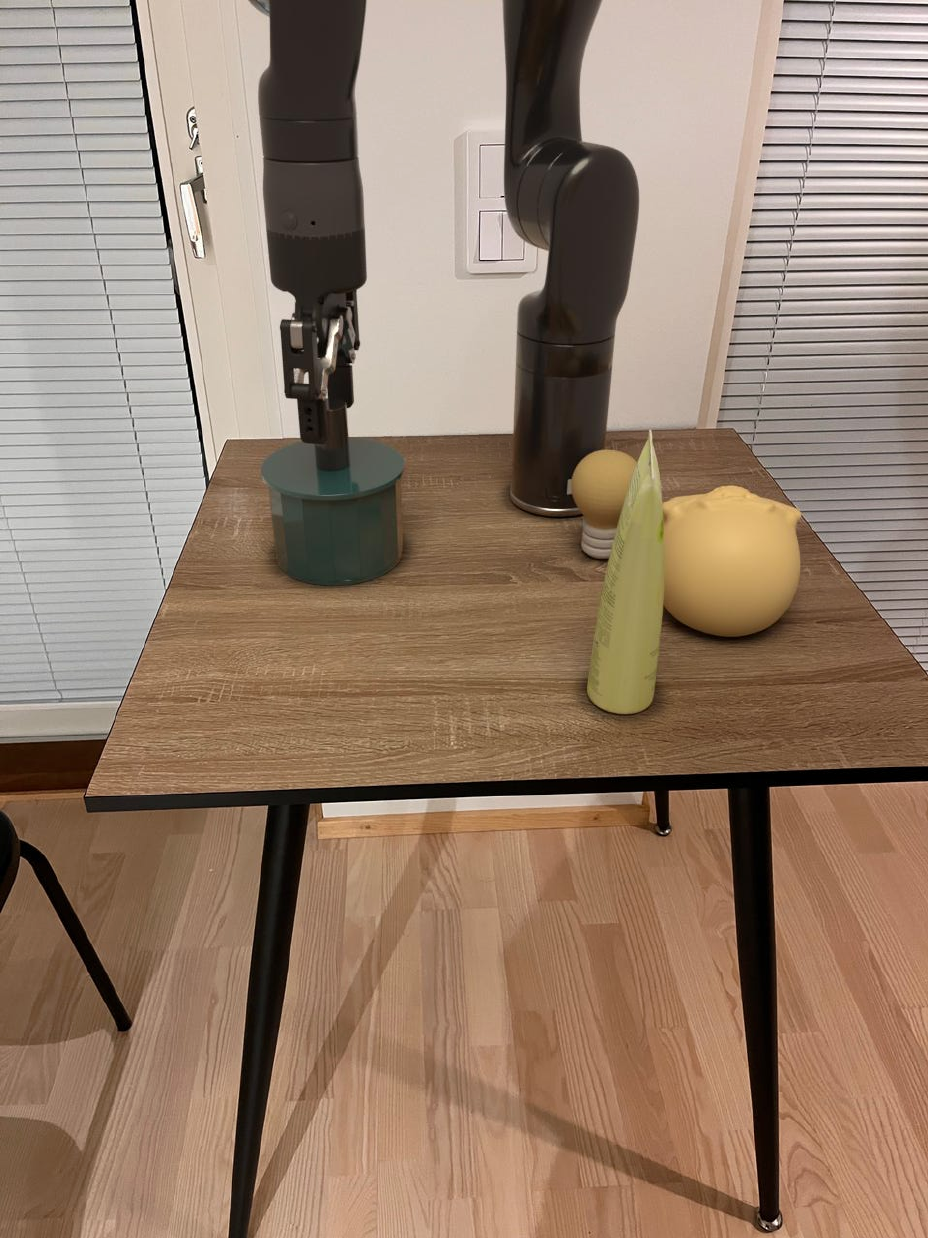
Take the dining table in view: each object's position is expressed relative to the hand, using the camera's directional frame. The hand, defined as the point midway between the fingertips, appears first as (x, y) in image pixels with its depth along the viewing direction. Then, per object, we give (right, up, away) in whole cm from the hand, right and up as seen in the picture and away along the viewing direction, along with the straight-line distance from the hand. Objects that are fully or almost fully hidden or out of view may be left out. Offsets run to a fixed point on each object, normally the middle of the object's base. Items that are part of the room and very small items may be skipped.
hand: (328, 423), depth 82 cm
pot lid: (0, -4, +2) cm, 4 cm away
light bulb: (+24, -11, +8) cm, 28 cm away
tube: (+23, -23, -11) cm, 34 cm away
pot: (0, -11, +7) cm, 13 cm away
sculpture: (+33, -16, -1) cm, 37 cm away
